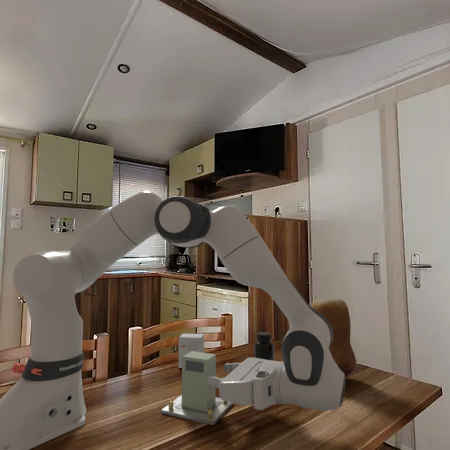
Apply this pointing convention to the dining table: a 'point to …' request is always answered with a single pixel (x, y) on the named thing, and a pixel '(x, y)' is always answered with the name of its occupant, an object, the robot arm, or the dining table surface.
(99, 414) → the dining table surface
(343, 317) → the butternut squash
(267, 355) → the supplement bottle
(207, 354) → the block
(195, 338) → the small box
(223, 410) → the plate
